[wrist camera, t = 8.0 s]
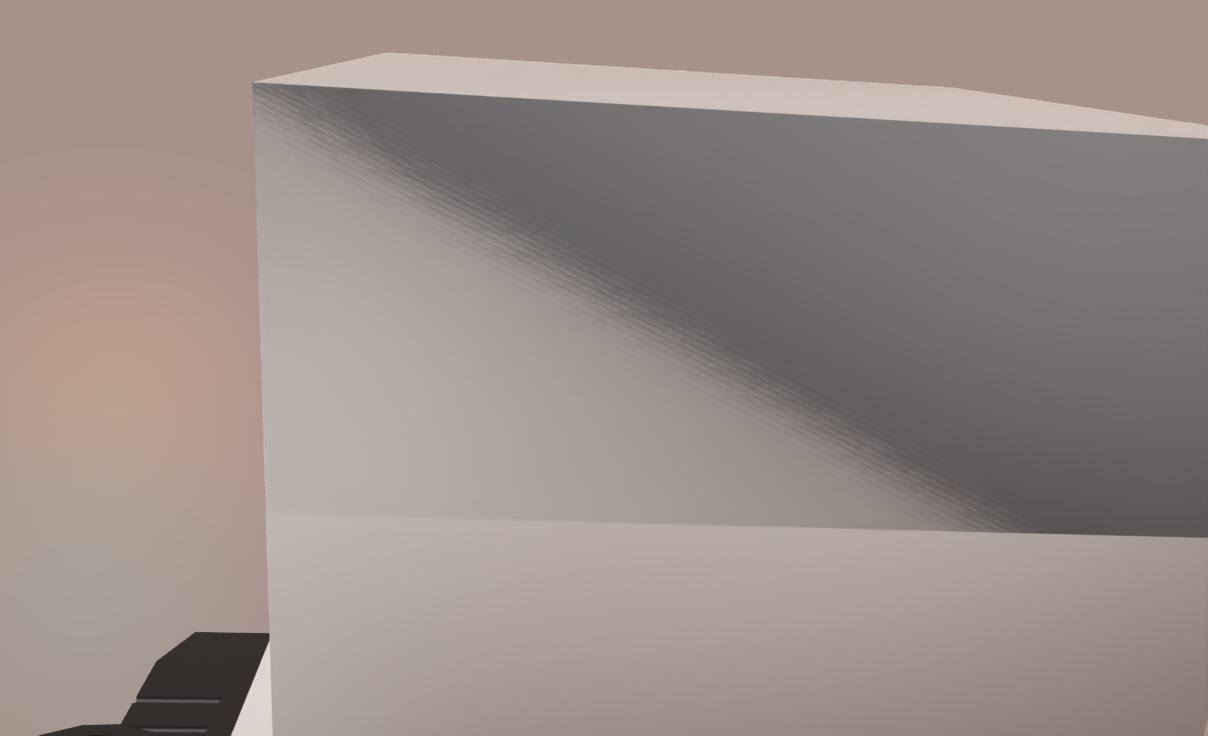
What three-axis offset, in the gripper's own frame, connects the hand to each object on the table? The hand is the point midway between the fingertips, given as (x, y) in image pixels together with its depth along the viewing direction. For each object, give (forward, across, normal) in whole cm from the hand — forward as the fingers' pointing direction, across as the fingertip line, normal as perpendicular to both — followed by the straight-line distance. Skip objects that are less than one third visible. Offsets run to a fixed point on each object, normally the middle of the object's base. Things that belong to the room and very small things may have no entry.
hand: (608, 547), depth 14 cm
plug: (-5, 0, -8) cm, 10 cm away
